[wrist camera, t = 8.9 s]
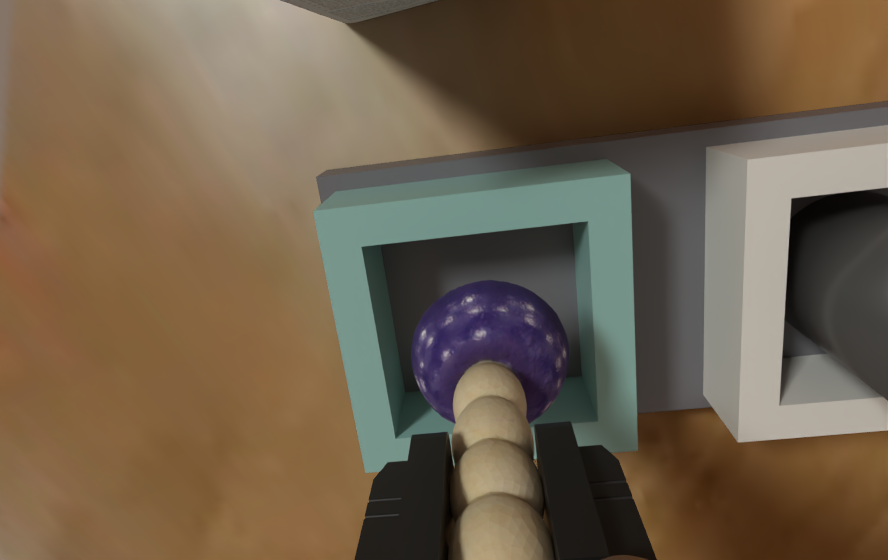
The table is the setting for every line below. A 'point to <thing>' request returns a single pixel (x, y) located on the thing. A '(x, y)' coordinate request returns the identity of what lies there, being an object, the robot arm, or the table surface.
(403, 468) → the robot arm
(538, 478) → the toy lamp
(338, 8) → the light bulb box
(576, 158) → the multicoloured piece
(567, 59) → the table surface
